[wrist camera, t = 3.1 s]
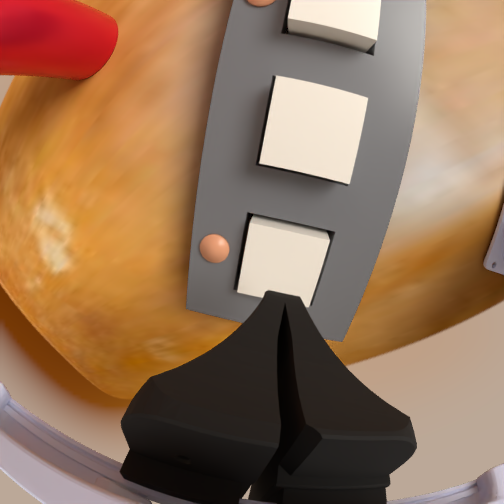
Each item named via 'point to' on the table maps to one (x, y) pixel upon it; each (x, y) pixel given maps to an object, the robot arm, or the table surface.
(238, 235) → the key panel
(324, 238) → the key
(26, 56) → the bottle
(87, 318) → the table surface
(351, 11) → the key
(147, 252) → the table surface
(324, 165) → the key middle
